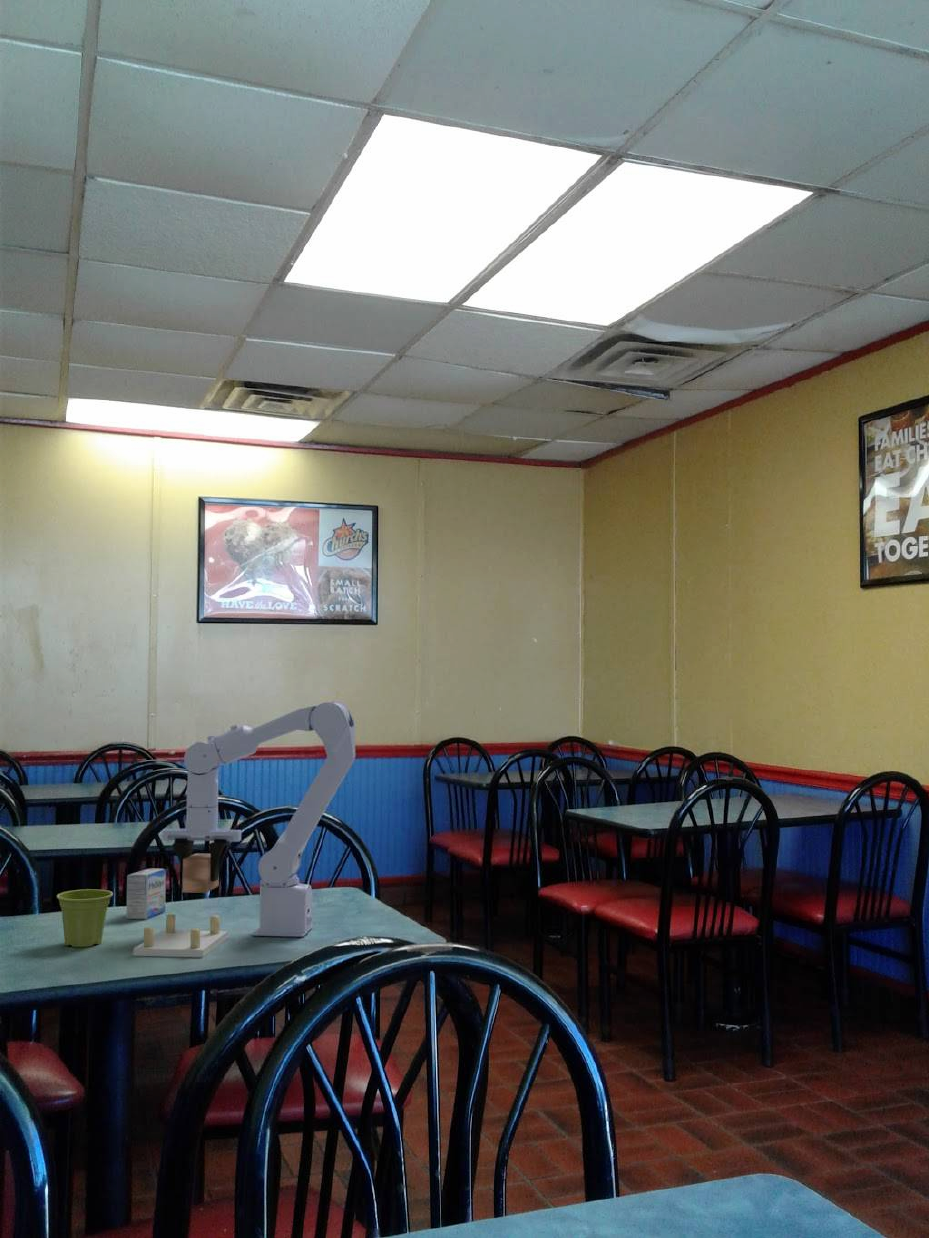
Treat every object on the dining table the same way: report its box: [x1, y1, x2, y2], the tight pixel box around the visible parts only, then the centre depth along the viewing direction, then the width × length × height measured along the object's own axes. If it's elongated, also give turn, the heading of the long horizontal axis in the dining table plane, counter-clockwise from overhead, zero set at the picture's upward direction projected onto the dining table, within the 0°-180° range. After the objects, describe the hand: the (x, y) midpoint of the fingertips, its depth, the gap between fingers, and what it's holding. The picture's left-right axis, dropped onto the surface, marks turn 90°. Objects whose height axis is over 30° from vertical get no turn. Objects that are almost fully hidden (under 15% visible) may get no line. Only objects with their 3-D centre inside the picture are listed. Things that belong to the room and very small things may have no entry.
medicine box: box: [126, 867, 167, 921], centre depth 213 cm, size 8×4×9 cm, turn 168°
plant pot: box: [56, 888, 114, 948], centre depth 190 cm, size 9×9×9 cm
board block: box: [182, 852, 220, 894], centre depth 200 cm, size 4×7×6 cm, turn 175°
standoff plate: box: [133, 914, 229, 958], centre depth 187 cm, size 12×14×4 cm
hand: (201, 880), depth 200 cm, fingers closed on board block, 4 cm apart
